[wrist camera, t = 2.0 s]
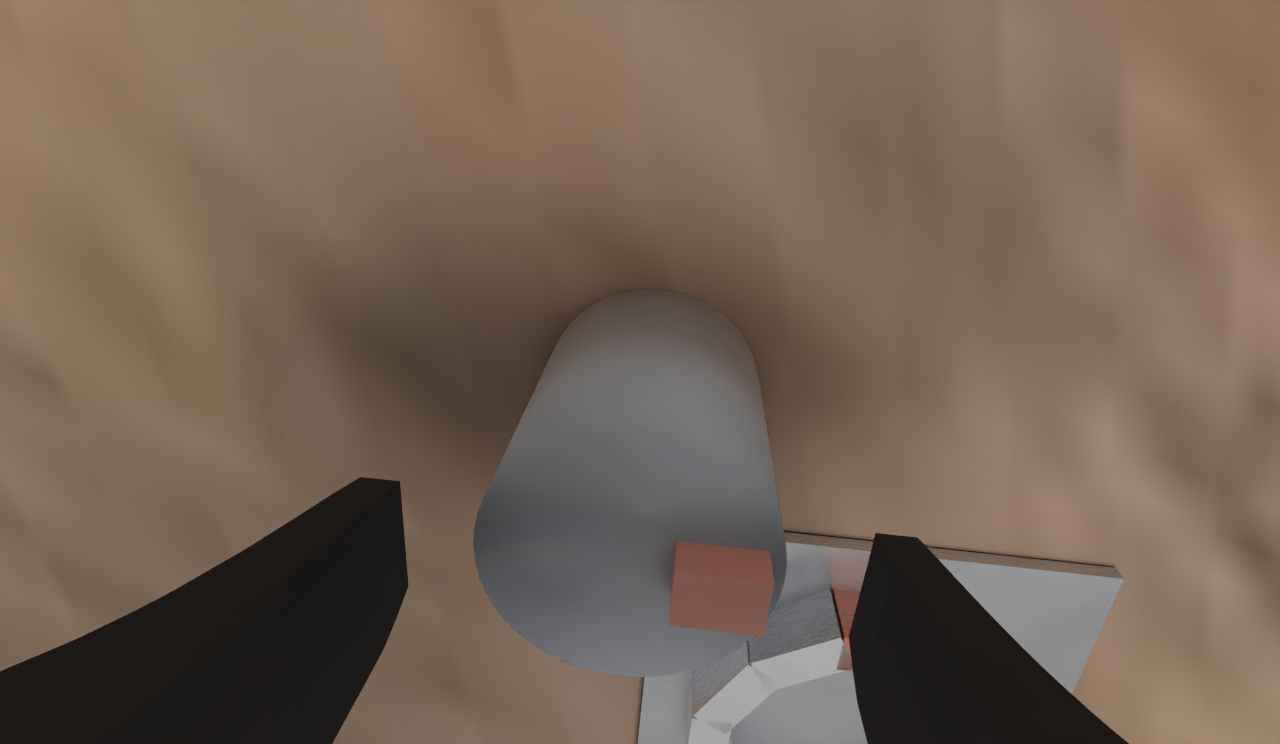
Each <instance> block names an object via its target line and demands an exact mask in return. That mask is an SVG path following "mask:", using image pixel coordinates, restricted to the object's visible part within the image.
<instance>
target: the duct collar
mask: <svg viewBox="0 0 1280 744" xmlns="http://www.w3.org/2000/svg"><path fill="white" fill-rule="evenodd" d="M784 536H785V542H786V553H787V567H786V576H785V582H784V585H783V588H782V592H781V595H780V597H779V600H778V602H777V604H776V606H775V608H774V610H773V612H772V613H771V615H770V616H769V618H768V619H767V624H766V629H765V634H764V636H756V635H754V636H753V637H751V638H750V639H749V640H748V641H747V642H745V643H744V644H743V645H742V646H741V647H739V648H738V649H736V650H735V651H733V652H731V653H730V654H728V655H727V656H725V657H723V658H721V659H719V660H717V661H715V662H713V663H711V664H708V665H705V666H703V667H700V668H697V669H694V670H691V671H686V672H682V673H678V674H673V675H665V676H657V677H644V686H643V696H642V706H641V715H640V725H639V734H638V744H868V743H867V739H866V736H865V732H864V728H863V724H862V720H861V716H860V712H859V708H858V704H857V698H856V691H855V684H854V677H853V669H852V661H851V652H850V644H849V633H850V629H851V625H852V622H853V618H854V614H855V610H856V606H857V603H858V599H859V595H860V591H861V587H862V584H863V580H864V576H865V572H866V568H867V565H868V561H869V557H870V553H871V549H872V545H873V541H863V540H854V539H845V538H836V537H826V536H817V535H808V534H799V533H789V532H784ZM927 548H928V547H927ZM928 549H929V550H930V551H931V552H932V553H933V554H934V555H935V556H936V557H937V558H938V559H939V561H940V562H941V563H942V564H943V565H944V566H945V567H946V568H947V569H948V570H949V571H950V572H951V573H952V575H953V576H954V577H955V578H956V579H957V580H958V581H959V582H960V583H961V584H962V585H963V586H964V587H965V588H966V590H967V591H968V592H969V593H970V594H971V595H972V596H973V597H974V598H975V599H976V600H977V601H978V602H979V603H980V604H981V606H982V607H983V608H984V609H985V610H986V611H987V612H988V613H989V614H990V615H991V616H992V617H993V618H994V619H995V620H996V621H997V622H998V623H999V624H1000V625H1001V626H1002V627H1003V628H1004V629H1005V630H1006V631H1007V632H1008V633H1009V634H1010V635H1011V636H1012V637H1013V638H1014V640H1015V641H1016V642H1017V643H1018V644H1019V645H1020V646H1021V647H1022V648H1023V649H1025V650H1026V651H1027V652H1028V653H1029V654H1030V655H1031V656H1032V657H1033V658H1034V659H1035V660H1036V661H1037V662H1038V663H1039V664H1040V665H1041V666H1042V667H1043V668H1044V669H1045V670H1046V671H1047V672H1048V673H1049V674H1050V675H1052V676H1053V677H1054V678H1055V679H1056V680H1057V681H1058V682H1059V683H1060V684H1061V685H1062V686H1063V687H1065V688H1066V689H1067V690H1068V691H1069V692H1070V693H1071V694H1072V693H1073V690H1074V688H1075V686H1076V684H1077V682H1078V679H1079V677H1080V675H1081V673H1082V671H1083V668H1084V666H1085V664H1086V662H1087V660H1088V657H1089V655H1090V653H1091V651H1092V649H1093V646H1094V644H1095V642H1096V640H1097V638H1098V635H1099V633H1100V631H1101V629H1102V627H1103V624H1104V622H1105V620H1106V618H1107V616H1108V613H1109V611H1110V609H1111V607H1112V605H1113V602H1114V600H1115V598H1116V596H1117V594H1118V591H1119V589H1120V587H1121V585H1122V583H1123V580H1124V578H1123V577H1122V575H1121V574H1120V573H1119V572H1118V570H1117V569H1116V568H1114V567H1104V566H1095V565H1086V564H1077V563H1067V562H1058V561H1049V560H1040V559H1030V558H1021V557H1012V556H1002V555H993V554H984V553H975V552H965V551H956V550H947V549H938V548H928Z"/></svg>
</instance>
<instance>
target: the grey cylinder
mask: <svg viewBox="0 0 1280 744" xmlns="http://www.w3.org/2000/svg"><path fill="white" fill-rule="evenodd" d="M474 555H475V562H476V566H477V570H478V573H479V577H480V580H481V582H482V584H483V586H484V589H485V591H486V593H487V595H488V596H489V598H490V600H491V601H492V603H493V605H494V606H495V608H496V609H497V610H498V612H499V613H500V614H501V615H502V617H503V618H504V619H505V620H506V621H507V622H508V623H509V624H510V625H511V626H512V627H513V628H514V629H515V630H516V631H517V632H518V633H519V634H520V635H522V636H523V637H524V638H525V639H527V640H528V641H529V642H531V643H532V644H533V645H535V646H537V647H538V648H540V649H541V650H543V651H545V652H546V653H548V654H550V655H552V656H554V657H556V658H558V659H560V660H562V661H564V662H567V663H570V664H572V665H575V666H578V667H580V668H583V669H587V670H591V671H595V672H599V673H604V674H610V675H616V676H627V677H657V676H665V675H673V674H678V673H682V672H686V671H691V670H694V669H697V668H700V667H703V666H705V665H708V664H711V663H713V662H715V661H717V660H719V659H721V658H723V657H725V656H727V655H728V654H730V653H731V652H733V651H735V650H736V649H738V648H739V647H741V646H742V645H743V644H744V643H745V642H747V641H748V640H749V639H750V638H751V637H753V636H754V635H756V636H764V634H765V629H766V624H767V619H768V618H769V616H770V615H771V613H772V612H773V610H774V608H775V606H776V604H777V602H778V600H779V597H780V595H781V592H782V588H783V585H784V582H785V576H786V567H787V553H786V542H785V536H784V530H783V524H782V518H781V511H780V505H779V499H778V493H777V487H776V481H775V475H774V468H773V462H772V456H771V450H770V444H769V438H768V431H767V425H766V419H765V413H764V407H763V401H762V395H761V388H760V382H759V376H758V371H757V366H756V362H755V359H754V356H753V354H752V351H751V349H750V347H749V345H748V343H747V341H746V340H745V338H744V337H743V335H742V334H741V332H740V331H739V330H738V328H737V327H736V326H735V325H734V324H733V323H732V322H731V321H730V320H729V319H728V318H727V317H726V316H725V315H723V314H722V313H721V312H720V311H718V310H717V309H716V308H714V307H712V306H711V305H709V304H707V303H706V302H704V301H702V300H700V299H697V298H695V297H693V296H690V295H687V294H684V293H680V292H677V291H671V290H665V289H636V290H629V291H625V292H620V293H617V294H614V295H611V296H609V297H606V298H604V299H602V300H600V301H598V302H596V303H594V304H592V305H591V306H589V307H588V308H587V309H585V310H584V311H582V312H581V313H580V314H579V315H578V316H577V317H576V318H575V319H574V320H573V321H572V322H571V323H570V324H569V325H568V327H567V328H566V329H565V330H564V331H563V333H562V335H561V337H560V338H559V340H558V342H557V344H556V346H555V348H554V350H553V352H552V354H551V356H550V358H549V361H548V363H547V365H546V367H545V369H544V371H543V373H542V375H541V377H540V380H539V382H538V384H537V386H536V388H535V390H534V392H533V394H532V397H531V399H530V401H529V403H528V405H527V407H526V409H525V411H524V414H523V416H522V418H521V420H520V422H519V424H518V426H517V428H516V431H515V433H514V435H513V437H512V439H511V441H510V443H509V445H508V447H507V450H506V452H505V454H504V456H503V458H502V460H501V462H500V464H499V467H498V469H497V471H496V473H495V475H494V477H493V479H492V481H491V484H490V486H489V488H488V490H487V492H486V494H485V496H484V499H483V501H482V504H481V506H480V509H479V511H478V514H477V519H476V523H475V528H474Z"/></svg>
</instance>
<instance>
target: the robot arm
mask: <svg viewBox="0 0 1280 744" xmlns="http://www.w3.org/2000/svg"><path fill="white" fill-rule="evenodd" d="M407 588H408V575H407V563H406V551H405V539H404V526H403V514H402V502H401V490H400V481H391V480H382V479H373V478H364V477H360V478H359V479H357V480H355V481H353V482H352V483H350V484H348V485H347V486H345V487H343V488H342V489H340V490H338V491H337V492H335V493H334V494H332V495H330V496H329V497H327V498H326V499H324V500H323V501H321V502H319V503H318V504H316V505H315V506H313V507H312V508H310V509H309V510H307V511H305V512H304V513H302V514H301V515H299V516H298V517H296V518H295V519H293V520H291V521H290V522H288V523H287V524H285V525H283V526H282V527H280V528H279V529H277V530H275V531H274V532H272V533H271V534H269V535H267V536H266V537H264V538H263V539H261V540H260V541H258V542H256V543H255V544H253V545H252V546H250V547H248V548H247V549H245V550H243V551H242V552H240V553H238V554H237V555H235V556H233V557H231V558H230V559H228V560H226V561H224V562H223V563H221V564H219V565H217V566H216V567H214V568H212V569H211V570H209V571H207V572H205V573H204V574H202V575H200V576H198V577H197V578H195V579H193V580H191V581H190V582H188V583H186V584H184V585H183V586H181V587H179V588H177V589H176V590H174V591H172V592H170V593H168V594H167V595H165V596H163V597H161V598H159V599H157V600H155V601H153V602H151V603H149V604H148V605H146V606H144V607H142V608H140V609H138V610H136V611H134V612H132V613H130V614H128V615H126V616H124V617H122V618H120V619H117V620H115V621H113V622H111V623H109V624H107V625H105V626H103V627H101V628H99V629H97V630H95V631H93V632H91V633H88V634H86V635H84V636H82V637H80V638H78V639H75V640H73V641H71V642H69V643H67V644H64V645H62V646H59V647H57V648H55V649H52V650H50V651H48V652H45V653H43V654H40V655H38V656H36V657H33V658H31V659H29V660H26V661H24V662H21V663H19V664H17V665H14V666H12V667H9V668H7V669H5V670H2V671H0V744H332V743H333V741H334V739H335V737H336V735H337V734H338V732H339V730H340V728H341V726H342V725H343V723H344V721H345V719H346V717H347V715H348V714H349V712H350V710H351V708H352V706H353V705H354V703H355V701H356V699H357V697H358V696H359V694H360V692H361V690H362V688H363V686H364V684H365V683H366V681H367V679H368V677H369V675H370V673H371V671H372V670H373V668H374V666H375V664H376V662H377V660H378V658H379V656H380V655H381V653H382V651H383V649H384V647H385V645H386V642H387V640H388V637H389V635H390V632H391V630H392V628H393V625H394V623H395V620H396V618H397V615H398V612H399V610H400V607H401V604H402V602H403V599H404V596H405V594H406V591H407ZM849 644H850V652H851V661H852V669H853V677H854V684H855V691H856V698H857V704H858V708H859V712H860V716H861V720H862V724H863V728H864V732H865V736H866V739H867V743H868V744H1129V743H1127V742H1126V741H1125V740H1124V739H1123V738H1121V737H1120V736H1119V735H1118V734H1116V733H1115V732H1114V731H1113V730H1112V729H1110V728H1109V727H1108V726H1107V725H1106V724H1105V723H1103V722H1102V721H1101V720H1100V719H1099V718H1098V717H1097V716H1095V715H1094V714H1093V713H1092V712H1091V711H1090V710H1088V709H1087V708H1086V707H1085V706H1084V705H1083V704H1082V703H1081V702H1080V701H1079V700H1077V699H1076V698H1075V697H1074V696H1073V695H1072V694H1071V693H1070V692H1069V691H1068V690H1067V689H1066V688H1065V687H1063V686H1062V685H1061V684H1060V683H1059V682H1058V681H1057V680H1056V679H1055V678H1054V677H1053V676H1052V675H1050V674H1049V673H1048V672H1047V671H1046V670H1045V669H1044V668H1043V667H1042V666H1041V665H1040V664H1039V663H1038V662H1037V661H1036V660H1035V659H1034V658H1033V657H1032V656H1031V655H1030V654H1029V653H1028V652H1027V651H1026V650H1025V649H1023V648H1022V647H1021V646H1020V645H1019V644H1018V643H1017V642H1016V641H1015V640H1014V638H1013V637H1012V636H1011V635H1010V634H1009V633H1008V632H1007V631H1006V630H1005V629H1004V628H1003V627H1002V626H1001V625H1000V624H999V623H998V622H997V621H996V620H995V619H994V618H993V617H992V616H991V615H990V614H989V613H988V612H987V611H986V610H985V609H984V608H983V607H982V606H981V604H980V603H979V602H978V601H977V600H976V599H975V598H974V597H973V596H972V595H971V594H970V593H969V592H968V591H967V590H966V588H965V587H964V586H963V585H962V584H961V583H960V582H959V581H958V580H957V579H956V578H955V577H954V576H953V575H952V573H951V572H950V571H949V570H948V569H947V568H946V567H945V566H944V565H943V564H942V563H941V562H940V561H939V559H938V558H937V557H936V556H935V555H934V554H933V553H932V552H931V551H930V550H929V549H928V548H927V547H926V546H925V545H924V544H923V543H922V542H921V541H920V540H919V539H918V538H915V537H906V536H897V535H888V534H878V533H876V534H875V538H874V542H873V545H872V549H871V553H870V557H869V561H868V565H867V568H866V572H865V576H864V580H863V584H862V587H861V591H860V595H859V599H858V603H857V606H856V610H855V614H854V618H853V622H852V625H851V629H850V633H849Z"/></svg>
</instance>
